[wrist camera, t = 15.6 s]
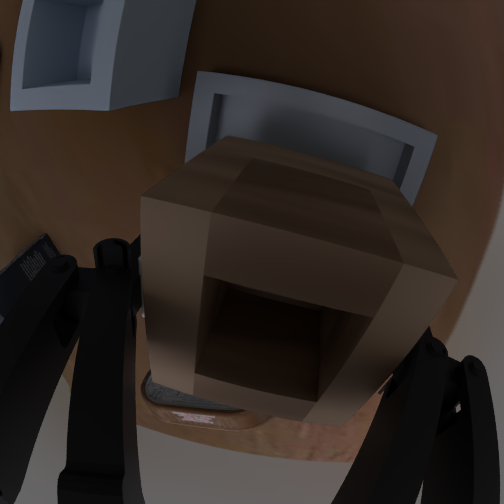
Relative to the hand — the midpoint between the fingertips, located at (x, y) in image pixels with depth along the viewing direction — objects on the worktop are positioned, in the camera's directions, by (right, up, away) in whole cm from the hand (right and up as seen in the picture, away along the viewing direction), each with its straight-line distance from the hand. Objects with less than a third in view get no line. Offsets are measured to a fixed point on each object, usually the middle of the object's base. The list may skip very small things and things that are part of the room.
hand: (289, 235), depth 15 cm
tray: (+1, +3, +5) cm, 6 cm away
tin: (-5, -12, +16) cm, 20 cm away
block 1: (-10, +14, +1) cm, 17 cm away
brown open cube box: (0, 0, 0) cm, 0 cm away
